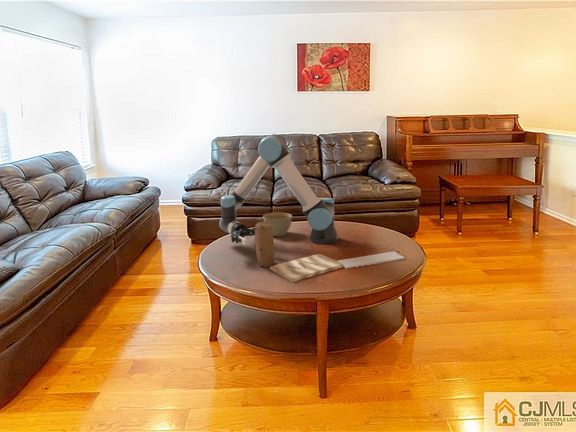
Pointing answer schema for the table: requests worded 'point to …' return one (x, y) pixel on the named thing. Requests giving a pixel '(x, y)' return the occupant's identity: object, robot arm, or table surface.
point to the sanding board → (306, 267)
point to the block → (264, 244)
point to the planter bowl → (278, 222)
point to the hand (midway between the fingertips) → (258, 239)
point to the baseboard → (371, 259)
